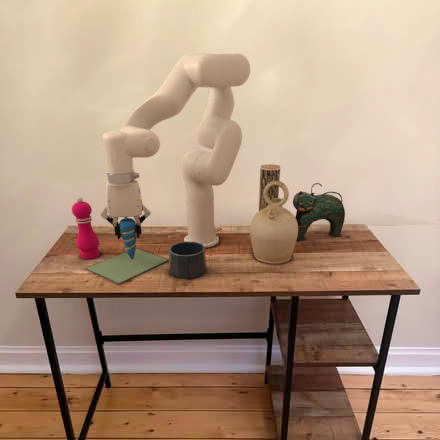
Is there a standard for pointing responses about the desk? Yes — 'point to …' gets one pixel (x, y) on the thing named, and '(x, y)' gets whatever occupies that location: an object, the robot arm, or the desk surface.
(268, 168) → the wooden log
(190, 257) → the crock
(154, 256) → the mat
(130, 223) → the ornament
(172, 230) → the desk surface
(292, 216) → the jug
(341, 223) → the ceramic cat
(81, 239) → the pepper mill
